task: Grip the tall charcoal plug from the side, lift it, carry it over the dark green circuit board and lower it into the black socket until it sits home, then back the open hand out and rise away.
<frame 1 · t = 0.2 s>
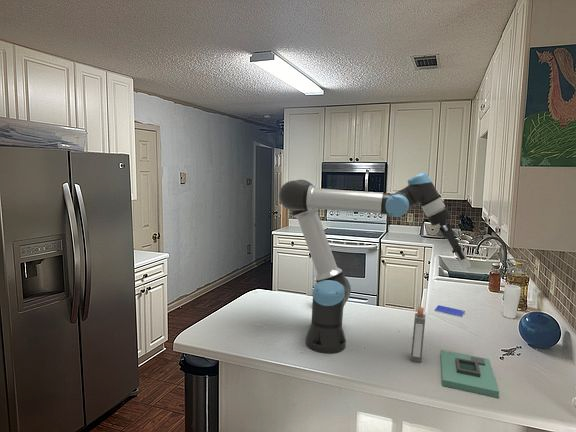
hand: (465, 263, 144), 34 cm above the countertop, tool tilted 35°, fingers open, 13 cm apart
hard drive: (449, 313, 190), on the countertop
plug: (416, 358, 142), on the countertop
drinking glass: (509, 317, 187), on the countertop
strainer: (320, 307, 189), on the countertop
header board: (466, 374, 132), on the countertop
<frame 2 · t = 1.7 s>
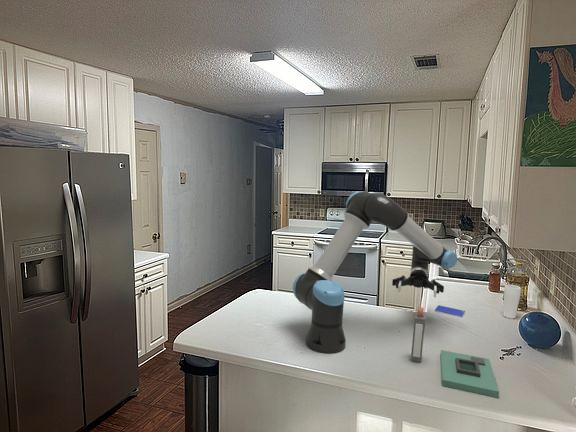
hand: (416, 291, 155), 20 cm above the countertop, tool horizontal, fingers open, 13 cm apart
nothing on the countertop moved.
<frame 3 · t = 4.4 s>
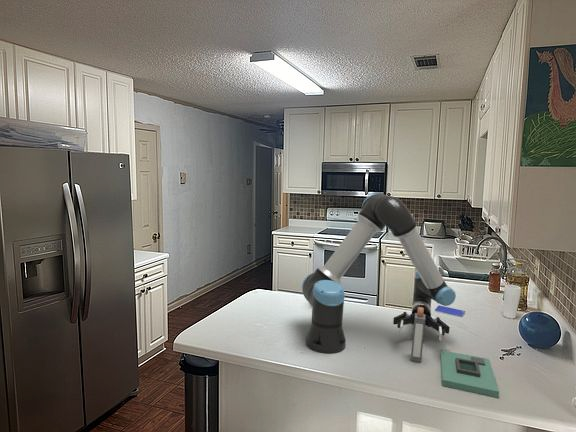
hand: (420, 333, 142), 9 cm above the countertop, tool horizontal, fingers open, 13 cm apart
nothing on the countertop moved.
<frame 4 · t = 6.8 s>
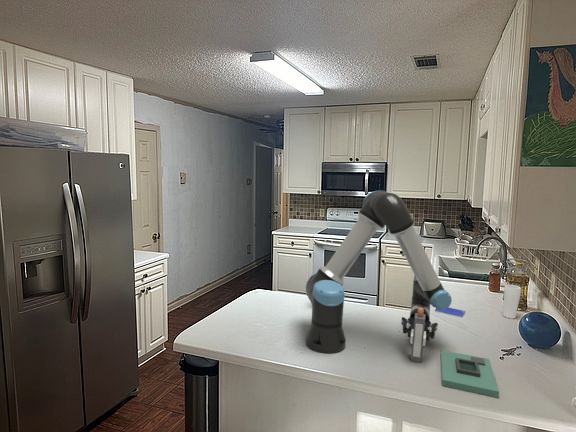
hand: (417, 340, 136), 9 cm above the countertop, tool horizontal, fingers closed on plug, 3 cm apart
plug: (416, 358, 142), on the countertop, touching gripper
everything else where it was.
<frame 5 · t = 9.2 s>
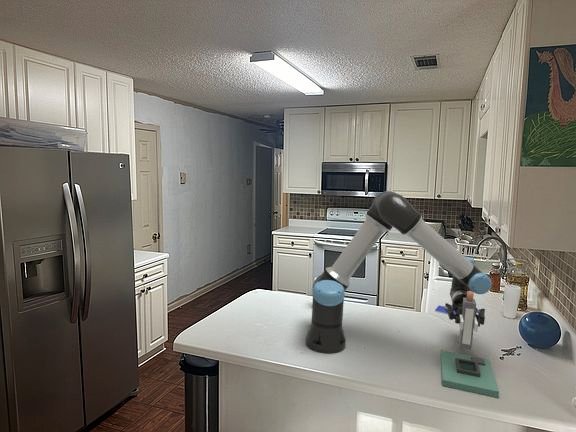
hand: (469, 326, 126), 18 cm above the countertop, tool horizontal, fingers closed on plug, 3 cm apart
plug: (464, 346, 133), point 9 cm above the countertop, touching gripper
everything else where it was.
when the fingers open (9 cm above the countertop, at t = 11.9 s): plug stays where it is, resting in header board.
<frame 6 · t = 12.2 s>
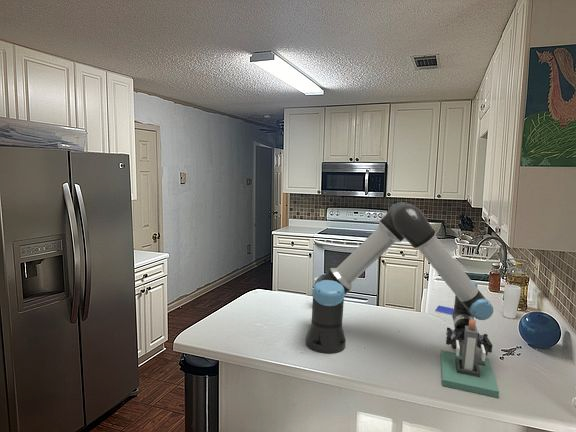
hand: (470, 354, 127), 9 cm above the countertop, tool horizontal, fingers open, 7 cm apart
plug: (466, 374, 133), resting in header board
everything else where it was.
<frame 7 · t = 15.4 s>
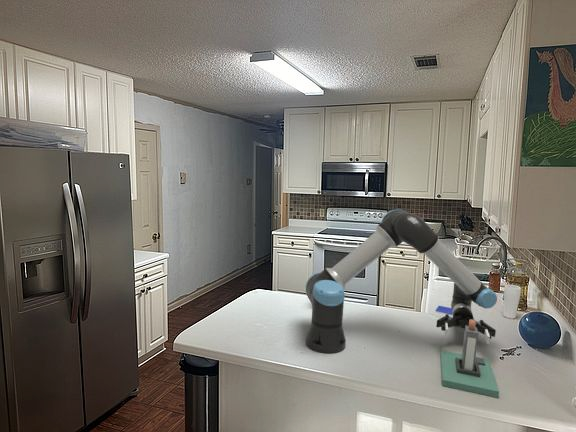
hand: (467, 336, 140), 9 cm above the countertop, tool horizontal, fingers open, 13 cm apart
nothing on the countertop moved.
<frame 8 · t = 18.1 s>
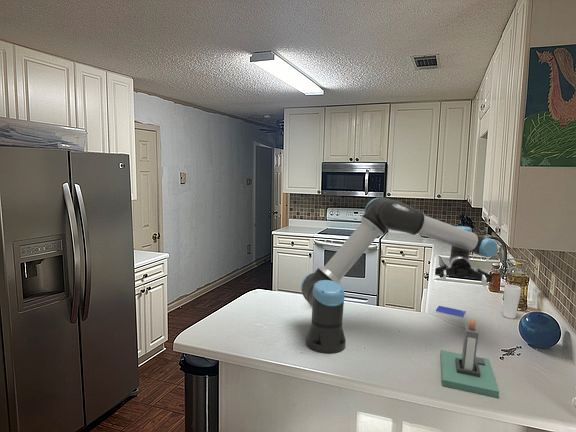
hand: (464, 280, 145), 28 cm above the countertop, tool horizontal, fingers open, 13 cm apart
nothing on the countertop moved.
at the end: plug 0.0 cm off-centre on the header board, point 0.0 cm above the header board's base; plug tilted 0°; the gripper is holding nothing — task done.
